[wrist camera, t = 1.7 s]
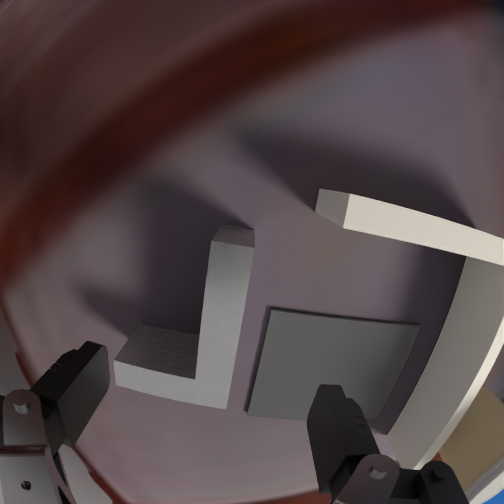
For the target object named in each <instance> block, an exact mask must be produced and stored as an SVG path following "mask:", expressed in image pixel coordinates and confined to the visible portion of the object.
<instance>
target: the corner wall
mask: <svg viewBox="0 0 504 504" xmlns="http://www.w3.org/2000/svg"><path fill="white" fill-rule="evenodd" d="M315 212H316V213H318V214H319V215H321V216H323V217H325V218H326V219H328V220H330V221H332V222H333V223H335V224H337V225H339V226H340V227H342V228H345V229H350V230H355V231H360V232H365V233H370V234H374V235H379V236H384V237H388V238H393V239H397V240H402V241H406V242H411V243H415V244H419V245H424V246H428V247H432V248H436V249H441V250H445V251H449V252H453V253H457V254H461V255H465V256H466V260H465V263H464V267H463V270H462V274H461V277H460V280H459V284H458V287H457V290H456V293H455V296H454V299H453V302H452V304H451V307H450V310H449V313H448V315H447V318H446V321H445V323H444V326H443V328H442V331H441V333H440V336H439V338H438V340H437V343H436V345H435V347H434V350H433V352H432V354H431V356H430V358H429V361H428V363H427V365H426V367H425V369H424V371H423V373H422V375H421V377H420V379H419V381H418V383H417V385H416V387H415V389H414V391H413V392H412V394H411V396H410V398H409V400H408V402H407V403H406V405H405V407H404V409H403V410H402V412H401V414H400V415H399V417H398V419H397V420H396V422H395V424H394V425H393V427H392V429H391V430H390V432H389V433H388V435H387V437H388V439H389V441H390V444H391V446H392V448H393V450H394V453H395V455H396V457H397V459H398V462H399V464H400V466H401V468H404V469H414V470H420V469H421V468H422V467H423V466H424V465H425V464H426V463H427V462H429V461H430V460H431V459H432V458H433V457H434V456H435V454H436V453H437V452H438V451H439V449H440V448H441V447H442V445H443V444H444V443H445V441H446V440H447V439H448V437H449V436H450V435H451V433H452V432H453V430H454V429H455V428H456V426H457V425H458V423H459V422H460V420H461V419H462V417H463V416H464V414H465V413H466V411H467V410H468V408H469V406H470V405H471V403H472V402H473V400H474V398H475V397H476V395H477V393H478V392H479V390H480V388H481V386H482V385H483V383H484V381H485V379H486V377H487V376H488V374H489V372H490V370H491V368H492V366H493V364H494V362H495V360H496V358H497V356H498V354H499V352H500V350H501V347H502V345H503V343H504V239H502V238H499V237H496V236H493V235H491V234H488V233H485V232H482V231H479V230H476V229H473V228H470V227H467V226H464V225H461V224H458V223H455V222H452V221H449V220H446V219H442V218H439V217H436V216H432V215H429V214H426V213H422V212H419V211H415V210H412V209H408V208H405V207H401V206H397V205H393V204H390V203H386V202H382V201H378V200H374V199H370V198H366V197H362V196H358V195H354V194H349V193H344V192H338V191H332V190H326V189H320V188H319V194H318V199H317V204H316V209H315Z"/></svg>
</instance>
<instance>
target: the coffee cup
mask: <svg viewBox="0 0 504 504" xmlns="http://www.w3.org/2000/svg"><path fill="white" fill-rule="evenodd" d="M439 454H440V456H441V458H442V460H443V462H444V463H446V464H448V465H449V466H450V467H451V468H452V469H453V471H454V473H455V475H456V477H457V479H458V481H459V483H460V485H461V487H462V489H463V491H464V493H465V495H466V498H467V500H468V502H469V504H482V503H484V502H485V501H487V500H489V499H490V498H492V497H493V496H495V495H496V494H497V493H499V492H500V491H501V490H503V489H504V404H503V403H502V402H501V401H500V400H499V399H498V398H497V397H496V396H495V395H494V394H492V393H491V392H490V391H489V390H488V389H487V388H486V387H484V386H483V385H482V386H481V388H480V390H479V392H478V393H477V395H476V397H475V398H474V400H473V402H472V403H471V405H470V406H469V408H468V410H467V411H466V413H465V414H464V416H463V417H462V419H461V420H460V422H459V423H458V425H457V426H456V428H455V429H454V430H453V432H452V433H451V435H450V436H449V437H448V439H447V440H446V441H445V443H444V444H443V445H442V447H441V448H440V449H439Z"/></svg>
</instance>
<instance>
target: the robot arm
mask: <svg viewBox="0 0 504 504" xmlns="http://www.w3.org/2000/svg"><path fill="white" fill-rule="evenodd" d="M109 383H110V373H109V363H108V351H107V347H106V346H104V345H101V344H98V343H94V342H91V341H86V342H85V343H84V344H83V345H82V346H81V347H80V348H79V349H78V350H75V349H73V350H71V351H69V352H67V353H65V354H63V355H62V356H61V357H60V358H59V359H58V360H57V361H56V363H54V364H53V365H52V366H51V367H50V369H48V370H47V371H46V373H45V374H44V375H43V376H42V377H41V378H40V379H39V380H38V381H37V382H36V383H35V384H34V385H33V386H32V387H31V389H30V390H24V389H19V390H14V391H12V392H10V393H9V394H7V395H6V396H2V395H0V478H1V485H2V491H3V497H4V503H5V504H77V503H76V501H75V499H74V497H73V495H72V492H71V489H70V486H69V483H68V480H67V477H66V473H65V470H64V466H63V463H62V459H61V455H60V452H59V448H60V446H61V445H62V444H65V445H67V446H69V447H71V448H73V447H74V445H75V443H76V441H77V440H78V438H79V436H80V435H81V433H82V431H83V430H84V428H85V426H86V425H87V423H88V421H89V420H90V418H91V417H92V415H93V413H94V412H95V410H96V408H97V407H98V405H99V404H100V402H101V400H102V399H103V397H104V396H105V394H106V392H107V390H108V388H109ZM364 417H365V416H364V414H363V411H362V409H361V407H360V406H359V405H358V404H357V403H356V402H355V401H354V400H353V399H352V398H346V396H345V393H344V391H343V389H342V386H341V385H330V384H321V385H320V386H319V387H318V390H317V392H316V395H315V397H314V400H313V403H312V405H311V408H310V410H309V413H308V417H307V430H308V435H309V440H310V445H311V450H312V455H313V460H314V465H315V470H316V475H317V481H318V486H319V491H320V494H323V493H331V496H332V500H331V501H330V502H329V504H469V502H468V500H467V498H466V495H465V493H464V491H463V489H462V487H461V485H460V483H459V481H458V479H457V477H456V475H455V473H454V471H453V469H452V468H451V467H450V466H449V465H448V464H446V463H444V462H442V461H437V460H434V461H429V462H427V463H426V464H425V465H424V466H423V467H422V468H421V469H420V470H414V469H404V468H399V467H398V465H397V464H396V462H395V461H394V460H393V459H391V458H390V457H388V456H386V455H382V454H381V453H380V451H379V449H378V446H377V444H376V442H375V439H374V437H373V435H372V432H371V430H370V427H369V426H368V423H367V421H366V418H364Z"/></svg>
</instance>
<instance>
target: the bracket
mask: <svg viewBox="0 0 504 504" xmlns="http://www.w3.org/2000/svg"><path fill="white" fill-rule="evenodd" d="M254 251H255V232H254V229H248V228H242V227H235V226H229V225H223V224H222V226H221V227H220V229H219V230H218V232H217V233H216V235H215V236H214V238H213V239H212V241H211V248H210V255H209V262H208V270H207V278H206V286H205V294H204V302H203V310H202V319H201V328H200V335H195V334H190V333H185V332H180V331H175V330H170V329H165V328H160V327H156V326H151V325H147V324H143V323H140V324H139V325H138V327H137V328H136V329H135V331H134V332H133V334H132V335H131V336H130V338H129V339H128V340H127V342H126V343H125V345H124V346H123V347H122V349H121V350H120V352H119V353H118V355H117V356H116V357H115V359H114V370H115V380H116V385H119V386H122V387H125V388H129V389H133V390H136V391H140V392H144V393H148V394H152V395H156V396H160V397H164V398H168V399H173V400H178V401H182V402H187V403H192V404H198V405H203V406H209V407H215V408H221V409H226V407H227V402H228V396H229V391H230V385H231V380H232V374H233V368H234V363H235V357H236V352H237V346H238V341H239V335H240V329H241V324H242V318H243V313H244V307H245V301H246V296H247V290H248V284H249V279H250V273H251V268H252V262H253V256H254Z"/></svg>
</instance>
